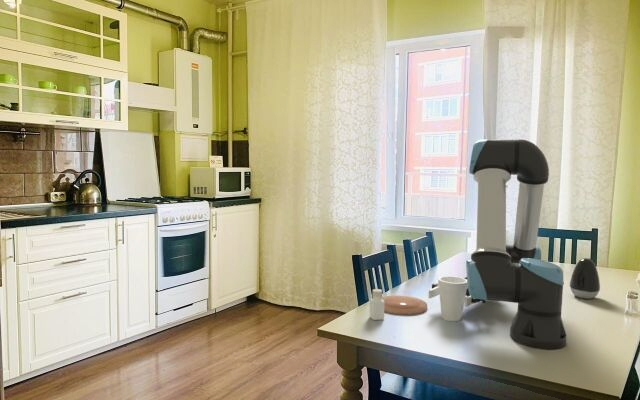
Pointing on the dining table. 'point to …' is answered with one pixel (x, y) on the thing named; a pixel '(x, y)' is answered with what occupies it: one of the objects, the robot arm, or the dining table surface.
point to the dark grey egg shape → (585, 279)
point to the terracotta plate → (404, 305)
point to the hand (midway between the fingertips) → (447, 298)
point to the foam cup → (452, 296)
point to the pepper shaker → (377, 305)
